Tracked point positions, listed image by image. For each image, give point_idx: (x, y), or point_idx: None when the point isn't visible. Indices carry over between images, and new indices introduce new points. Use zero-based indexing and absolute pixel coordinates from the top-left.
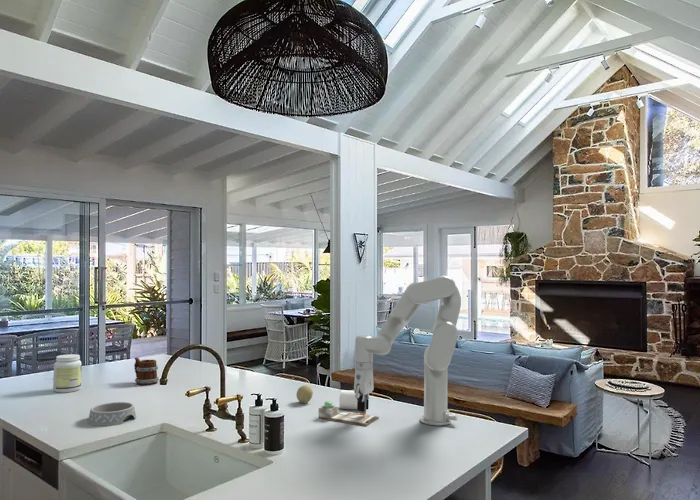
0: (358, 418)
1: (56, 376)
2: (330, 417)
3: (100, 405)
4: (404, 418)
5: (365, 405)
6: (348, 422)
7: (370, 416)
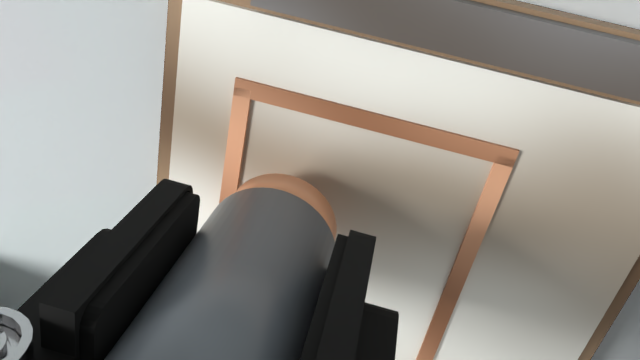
0: (425, 250)
1: None
2: None
3: None
4: None
5: (256, 282)
6: (585, 348)
7: (245, 79)
